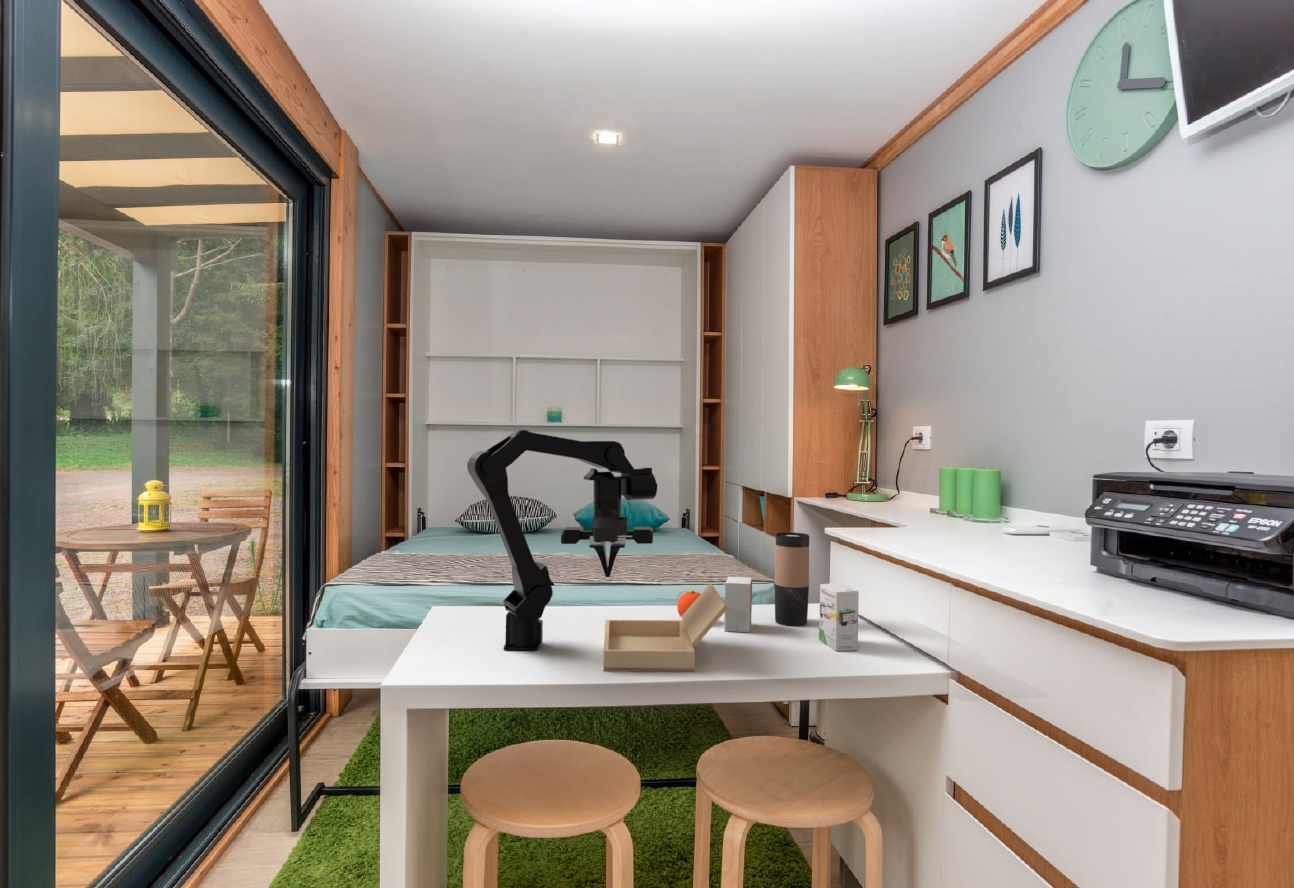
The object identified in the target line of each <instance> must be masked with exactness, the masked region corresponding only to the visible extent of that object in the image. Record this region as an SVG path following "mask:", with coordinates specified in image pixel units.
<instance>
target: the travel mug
mask: <svg viewBox="0 0 1294 888" xmlns="http://www.w3.org/2000/svg"><path fill="white" fill-rule="evenodd" d="M774 553H775V555H774V557H775V558H774V620H775V621H774V622H775V623H777V624H779V625H782V626H787V627H802V626H806V625H807V624H808V610H809V593H810V590H809V589H810V535H809V533H802V532H789V531H787V532H777V533H775V552H774Z"/></svg>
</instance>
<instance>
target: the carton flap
mask: <svg viewBox="0 0 1294 888" xmlns="http://www.w3.org/2000/svg"><path fill="white" fill-rule="evenodd" d="M727 609H728V607H727V605H726V604H725V600H724V599H723V598H722V597H721V596H720V594H719V592H718V591H717V590H716V588H715V586H714V585H713V584H711V583H709V584H708V585H707V586H706V588H704V590H703V591H702V592H700V596H699V597H698V598H697V599H696V600H695V601H694V603H693V604H692V605H691V606H690V607H689V608H688V609H687V611H686V612H685V613H684V614H683V615H682V616H680V618H681V617H682V618H681V619H682V620H683V622H684V625H685V627H686V630H687V632H688V635H689V638H690V640H691V643H692V645H693V647H697V645H698V644H699V643H700V641H701V640H702V639H703V638H704V636H706V635H707V633H708V632H709V631H710V630H711V629H712V628H713V627H714V625H715V624H716V623H717V622H718V620H719V619H720V618H721V617H723V615H724V612H725V611H726V610H727Z"/></svg>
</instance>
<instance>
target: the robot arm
mask: <svg viewBox="0 0 1294 888" xmlns="http://www.w3.org/2000/svg"><path fill="white" fill-rule="evenodd" d="M525 452H534V453H538V454H539V453H540V454H545V455H552V456H557V457H563V458H569V459H575V460H577V461H580V462H582V463H585V464H586V465H590V466H592V467H595V468H592V467H590V470H589V471H588V472H587V473H586V474H585V475H584V476H583V480H584V481H585V480H586V481H593V519H592V524H591V525H592V526H591V527H592V529H591V530H584V529H583V527H582V526H566V527H565V528H564V529H563V530H562V531H561V533H560V544H562V545H576V544H578V542H579V541H581V540H583V541H584V540H585V541H587V540H588V542H589V545H588V547H589V548H590V549H594V550H595V553H596V554H597V557H599V560H600V564H601V567H602V570H603V572H604V576H605V578H610V577H611V573H612V570H613V567H614V564H615V560H616V557H617V555H618V553H619V551H620V549H623V548H626V543H627V541H628V540H633V541H634V542H635V543H636V544H638V545H639V544H640V545H641V544H643V545H645V544H646V545H647V544H648V545H649V544H653V543H654V531H653V530H654V529H653V528H652V527H651V526H633V530H628V516H622V496H623V498H624V499H625V500H626V501H642V500H653V499H655V498H656V495H657V493H658V482H657V480H656V476H655V475H654V474H653V468H652V467H640V468H634V467H633V465H632V464H631V462H630V461H629V459H628V458H627V456H626V455H625V454H626V453H625V449H624V447H623V445H622V444H621V443H620V442H618V441H615V440H586V441H585V440H575V439H571V438H565V437H560V436H553V435H549V434H548V435H547V434H542V433H536V432H531V431H530V430H526V429H519V430H518V429H517V430H513V431H512V432H511V433H510V434H509V435H508V436H507V437H505V438H503V439H502V440H500V441H499V442H497V443H495V444H493V445H492V446H490V447H489V448H487V450H484V451H483V450H480V451H477V452H474V453H473V454H472V455H471V456H470V457H469V459H468V461H467V463H466V467H467V471H468V472H467V473H468V474H469V476H470V477H471V479H472V481H473V482H474V485H476V487H477V488H478V490H479V491H480V492H481V495H482V496H484V498H485V499H486V502H487V504H488V506H489V508H490V511H491V514H492V516H493V519H494V522H495V524H496V527H497V529H498V533H499V535H500V538H501V540H502V543H503V545H504V548H505V550H506V554H507V556H508V558H509V561H510V564H511V572H512V573H511V578H512V584H513V590H511V592H510V593H509V594H508V595H507V596H506V597H505V598H504V599H503V601H502V603H503V605H504V608H505V610H506V612H507V613H506V614H505V643H504V645H503V650H505V651H506V650H507V651H508V650H509V651H511V650H512V651H514V650H515V651H517V650H518V651H537V650H538V649H539V647H540V645H541V644H542V643H543V640H544V639H543V635H544V633H543V632H544V631H543V630H544V628H543V626H544V620H543V619H541V618H542V616H543V613H544V611H545V608H546V606H547V605H548V604H549V603H550V601H551V599H552V597H553V595H554V594H553V593H554V591H553V587H552V586H555V583H554V582H553V581H552V579H551V577H550V574H549V569H548V566H546V565H545V564H543V563H541V562H539V561H535V559H534V557H533V555H532V553H531V550H530V547H529V545H528V541H527V539H526V537H525V534H524V531H523V529H522V526H521V524H520V521H519V519H518V516H517V513H516V510H515V507H514V505H513V502H512V500H511V497H510V493H509V478H508V477H509V476H508V472H507V468H508V467H510V466H511V465H512V464H513V463H514V462H516V461H517V459H518V458H520V457H521V456H522V455H523V454H524V453H525ZM597 468H599V469H606V470H607V471H598V469H597ZM613 473H617V474H620V475H615V476H614V474H613ZM606 542H607V543H608V542H610V549H609V556H607V547H606Z"/></svg>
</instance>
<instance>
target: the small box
mask: <svg viewBox="0 0 1294 888" xmlns="http://www.w3.org/2000/svg"><path fill="white" fill-rule="evenodd" d="M752 601H753V577H745V576H744V577H742V576H728V577H727V578H726V581H725V582H724V602H725V604H726V605H727V607H728V609H727V610H726V611H725V612H724V614H723V615H724V618H723V619H724V620H723V621H724V622H723V623H724V624H723V625H724V627H723V628H724V629H723V631H725V632H733V631H737V632H736V633H750V632H751V627H752V609H753V608H752V605H753V602H752Z"/></svg>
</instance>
